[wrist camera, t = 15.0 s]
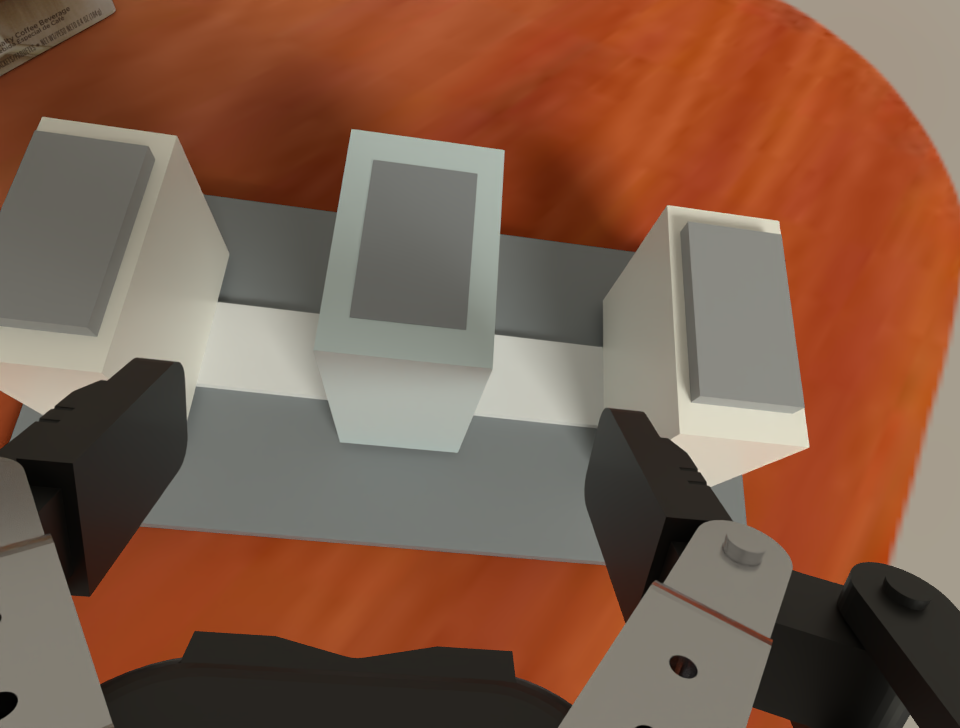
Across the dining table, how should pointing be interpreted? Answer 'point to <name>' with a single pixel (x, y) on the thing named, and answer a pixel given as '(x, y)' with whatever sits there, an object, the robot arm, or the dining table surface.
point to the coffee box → (43, 25)
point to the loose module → (411, 291)
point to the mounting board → (380, 469)
